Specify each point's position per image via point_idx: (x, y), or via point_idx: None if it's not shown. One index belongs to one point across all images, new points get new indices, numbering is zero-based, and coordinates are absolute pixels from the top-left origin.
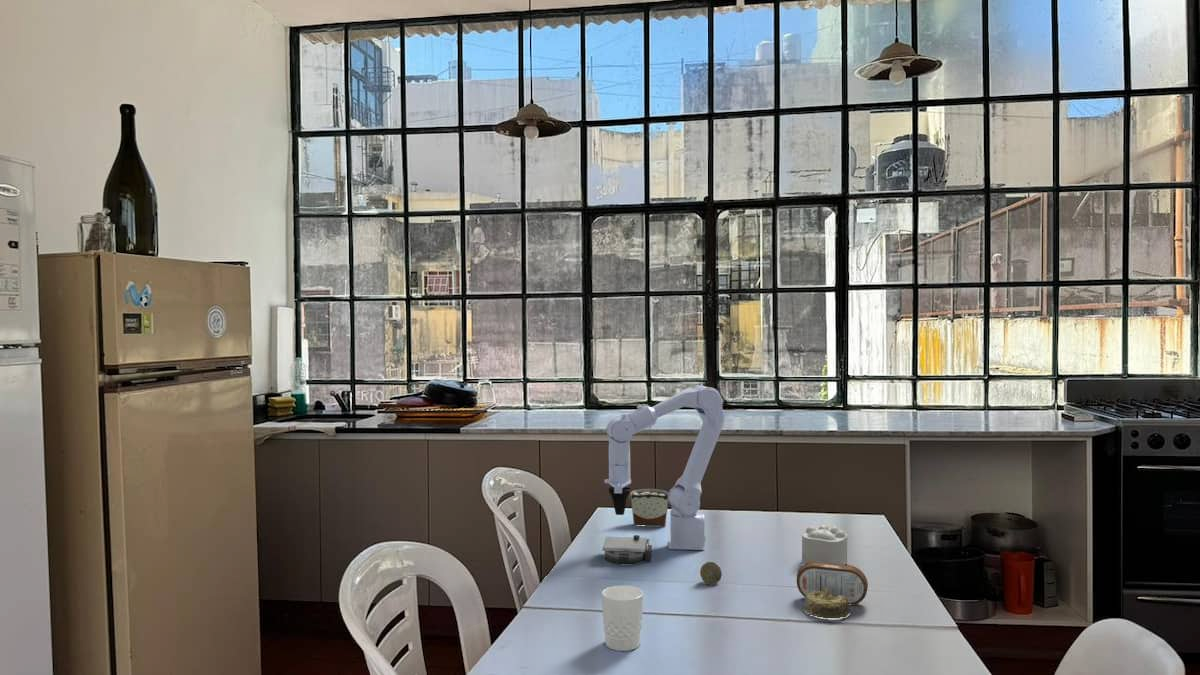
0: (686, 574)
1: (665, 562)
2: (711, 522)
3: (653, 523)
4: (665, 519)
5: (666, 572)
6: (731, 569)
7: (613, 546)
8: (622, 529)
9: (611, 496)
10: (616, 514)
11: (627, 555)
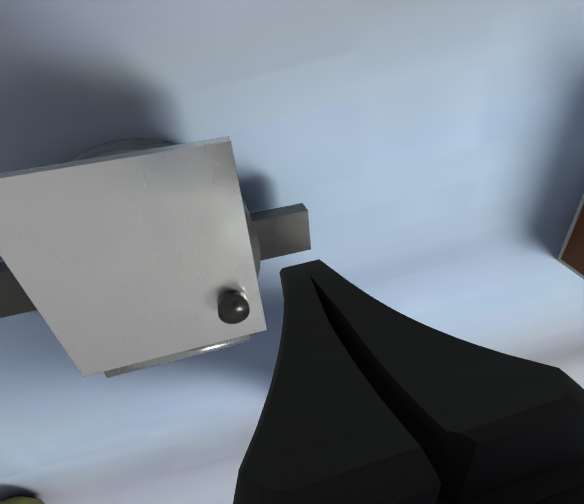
0: (67, 442)
1: (163, 367)
2: (562, 349)
3: (582, 229)
4: (580, 274)
5: (51, 400)
6: (172, 488)
7: (29, 243)
8: (567, 115)
9: (263, 410)
10: (280, 273)
11: (10, 310)
